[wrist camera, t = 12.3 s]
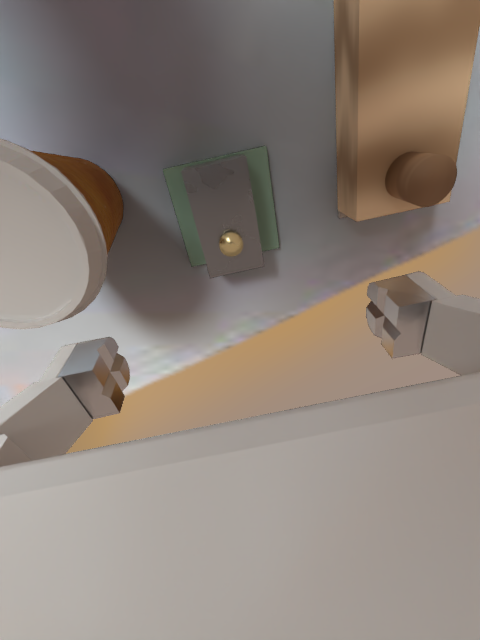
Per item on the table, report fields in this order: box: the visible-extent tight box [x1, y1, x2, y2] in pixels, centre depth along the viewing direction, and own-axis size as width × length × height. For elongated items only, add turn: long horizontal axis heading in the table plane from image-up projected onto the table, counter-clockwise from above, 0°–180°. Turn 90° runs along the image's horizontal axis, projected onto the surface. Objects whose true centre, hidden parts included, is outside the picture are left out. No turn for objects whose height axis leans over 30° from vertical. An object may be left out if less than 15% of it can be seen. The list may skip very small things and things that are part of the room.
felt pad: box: [163, 146, 279, 267], centre depth 25 cm, size 8×8×1 cm
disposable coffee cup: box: [0, 139, 123, 329], centre depth 19 cm, size 10×10×12 cm
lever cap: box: [181, 154, 264, 278], centre depth 24 cm, size 8×4×4 cm, turn 11°
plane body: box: [334, 0, 480, 222], centre depth 17 cm, size 21×7×9 cm, turn 11°
